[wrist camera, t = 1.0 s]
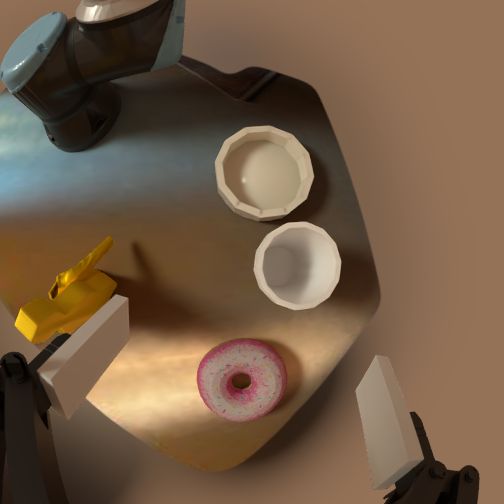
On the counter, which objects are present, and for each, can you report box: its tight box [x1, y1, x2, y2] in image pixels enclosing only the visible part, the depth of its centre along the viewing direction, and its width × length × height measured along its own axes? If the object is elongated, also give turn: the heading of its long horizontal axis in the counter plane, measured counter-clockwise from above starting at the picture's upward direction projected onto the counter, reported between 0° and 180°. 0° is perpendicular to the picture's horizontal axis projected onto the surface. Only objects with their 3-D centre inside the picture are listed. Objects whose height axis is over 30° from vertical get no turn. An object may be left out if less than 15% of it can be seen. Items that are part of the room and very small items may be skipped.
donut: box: [197, 339, 287, 422], centre depth 39 cm, size 14×13×5 cm
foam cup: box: [254, 222, 341, 310], centre depth 36 cm, size 10×9×13 cm
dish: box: [215, 126, 314, 221], centre depth 41 cm, size 14×14×4 cm
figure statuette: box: [15, 236, 117, 343], centre depth 28 cm, size 18×8×22 cm, turn 146°
